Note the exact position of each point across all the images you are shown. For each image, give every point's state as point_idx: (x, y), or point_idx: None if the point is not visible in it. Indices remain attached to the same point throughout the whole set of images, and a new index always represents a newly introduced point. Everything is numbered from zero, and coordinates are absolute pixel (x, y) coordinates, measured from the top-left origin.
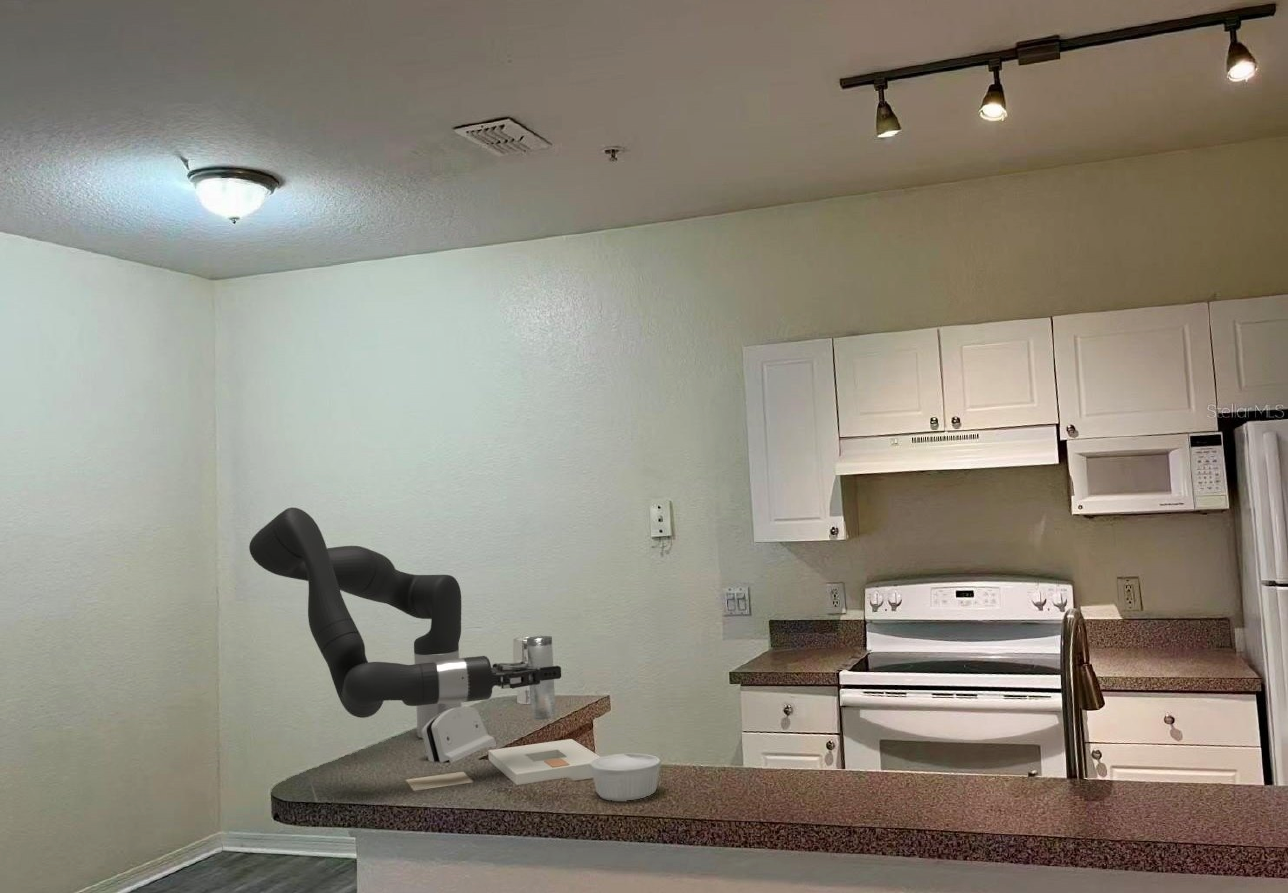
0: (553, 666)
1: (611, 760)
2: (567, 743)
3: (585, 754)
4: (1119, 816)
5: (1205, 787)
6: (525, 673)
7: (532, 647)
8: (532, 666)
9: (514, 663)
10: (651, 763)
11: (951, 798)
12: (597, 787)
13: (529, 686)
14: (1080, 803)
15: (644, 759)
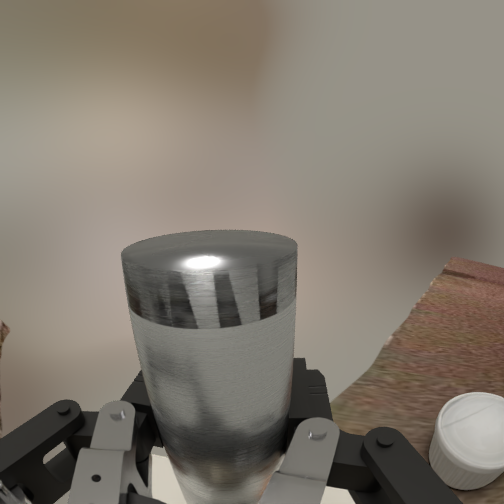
0: (301, 371)
1: (482, 441)
2: (167, 472)
3: None
4: (495, 279)
5: (454, 261)
6: (446, 496)
7: (261, 330)
8: (253, 438)
9: (114, 483)
10: (492, 399)
11: (476, 299)
12: (493, 479)
13: (210, 500)
14: (479, 280)
15: (450, 410)
